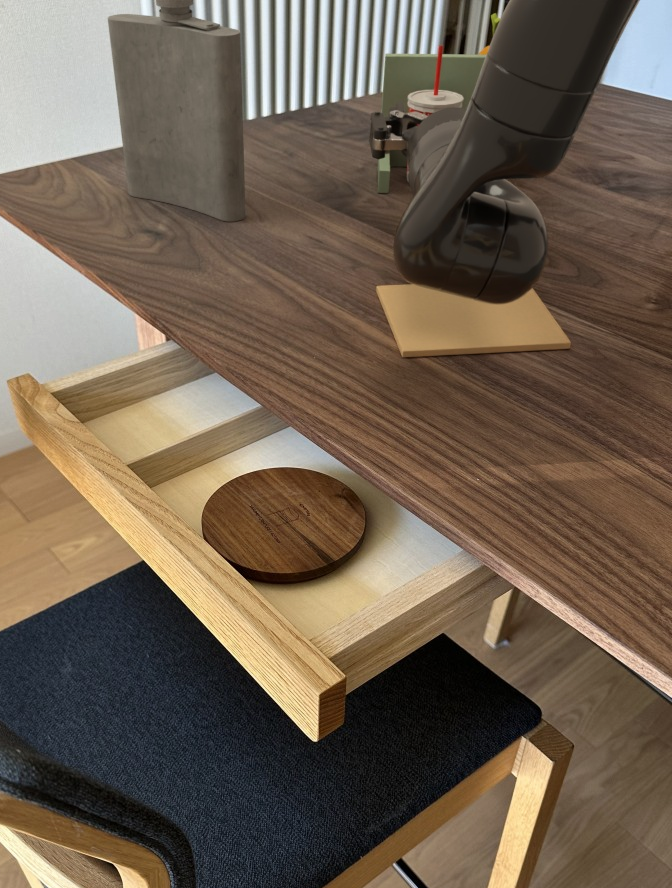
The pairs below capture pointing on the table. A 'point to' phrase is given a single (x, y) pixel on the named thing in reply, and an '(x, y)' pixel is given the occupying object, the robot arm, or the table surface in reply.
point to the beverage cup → (433, 97)
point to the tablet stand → (420, 75)
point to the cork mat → (466, 323)
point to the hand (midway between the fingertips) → (441, 113)
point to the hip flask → (181, 109)
